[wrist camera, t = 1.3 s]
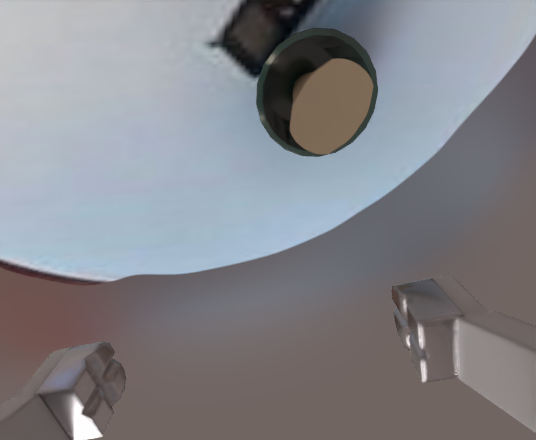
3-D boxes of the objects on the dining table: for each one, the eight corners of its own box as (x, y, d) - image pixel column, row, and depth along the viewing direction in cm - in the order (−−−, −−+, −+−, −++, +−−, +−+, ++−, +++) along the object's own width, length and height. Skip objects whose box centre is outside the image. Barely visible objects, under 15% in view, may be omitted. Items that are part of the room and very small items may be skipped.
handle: (342, 74, 36) (387, 84, 22) (310, 126, 38) (332, 165, 25) (305, 48, 35) (328, 43, 21) (273, 104, 37) (276, 132, 24)
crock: (247, 50, 35) (241, 49, 28) (348, 20, 34) (369, 11, 27) (272, 148, 40) (273, 168, 32) (362, 124, 38) (383, 140, 31)
